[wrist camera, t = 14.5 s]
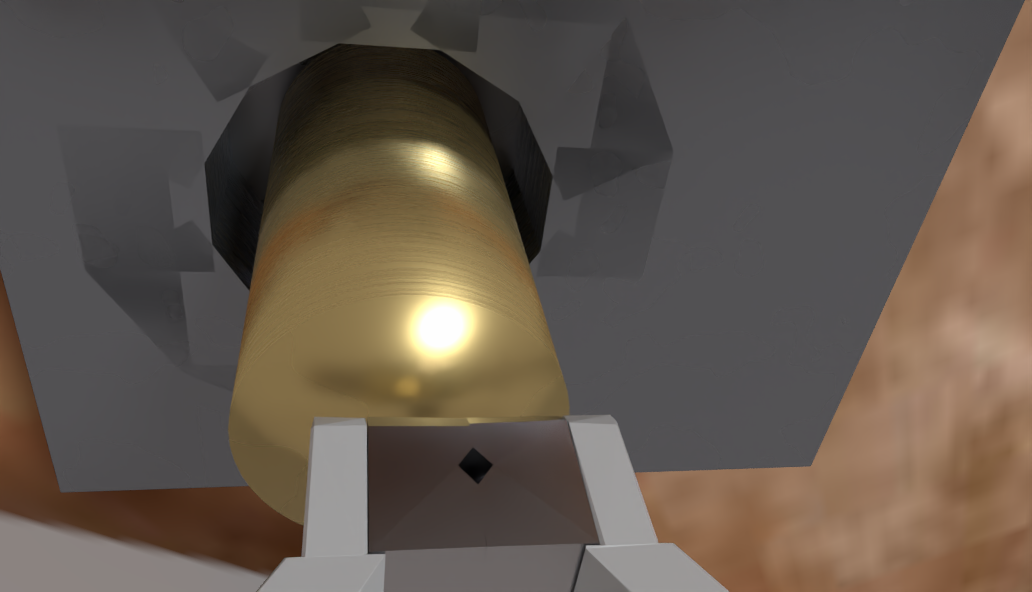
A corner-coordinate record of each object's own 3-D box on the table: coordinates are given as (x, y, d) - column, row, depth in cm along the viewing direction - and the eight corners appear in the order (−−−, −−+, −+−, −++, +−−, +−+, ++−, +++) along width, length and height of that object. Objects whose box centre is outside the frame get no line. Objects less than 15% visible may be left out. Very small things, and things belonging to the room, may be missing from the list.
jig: (944, -196, 15) (1098, -162, 12) (746, 356, 23) (810, 466, 20) (-31, -332, 12) (-163, -335, 9) (107, 360, 20) (60, 492, 16)
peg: (502, 53, 16) (604, 308, 9) (469, 234, 18) (534, 541, 12) (280, 22, 15) (227, 285, 8) (274, 219, 17) (228, 543, 11)
